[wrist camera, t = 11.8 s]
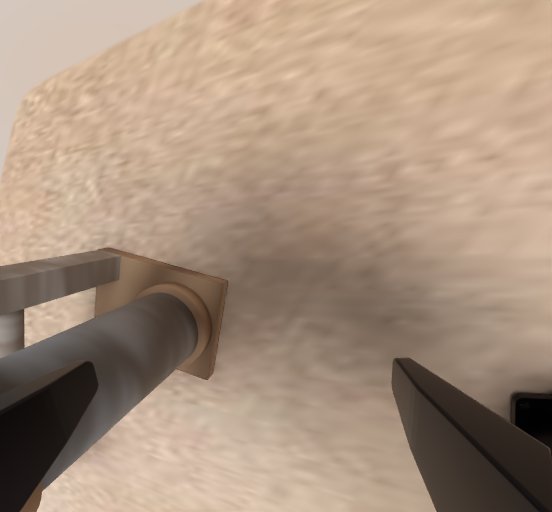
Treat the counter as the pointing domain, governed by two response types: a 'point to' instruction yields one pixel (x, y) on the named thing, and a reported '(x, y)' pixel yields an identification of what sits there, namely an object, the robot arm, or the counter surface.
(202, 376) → the grey h-shaped frame
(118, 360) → the ball
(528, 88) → the counter surface
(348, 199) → the counter surface
